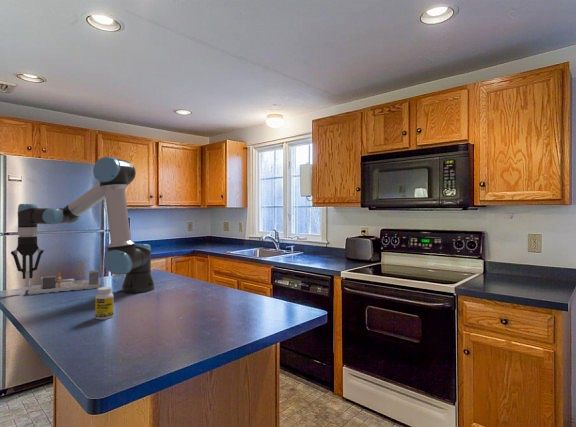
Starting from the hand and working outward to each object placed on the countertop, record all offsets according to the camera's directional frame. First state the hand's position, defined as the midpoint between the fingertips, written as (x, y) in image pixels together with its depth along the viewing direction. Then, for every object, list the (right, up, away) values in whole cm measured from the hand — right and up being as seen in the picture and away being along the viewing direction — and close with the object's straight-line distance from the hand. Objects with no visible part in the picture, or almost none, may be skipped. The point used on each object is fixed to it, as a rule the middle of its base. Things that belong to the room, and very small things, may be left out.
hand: (27, 285), depth 169 cm
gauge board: (+12, -4, +10) cm, 16 cm away
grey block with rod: (+9, -2, +8) cm, 13 cm away
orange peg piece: (+7, -1, +12) cm, 14 cm away
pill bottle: (+55, -5, -36) cm, 66 cm away
